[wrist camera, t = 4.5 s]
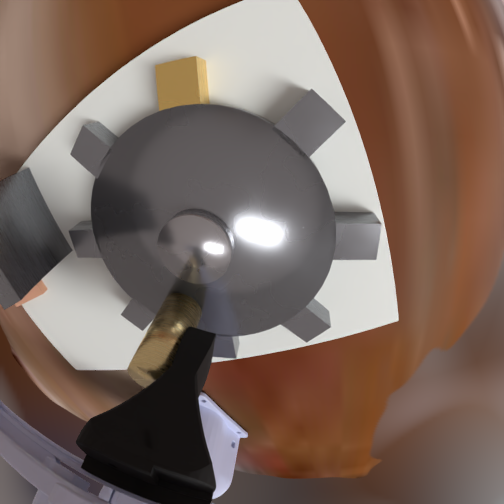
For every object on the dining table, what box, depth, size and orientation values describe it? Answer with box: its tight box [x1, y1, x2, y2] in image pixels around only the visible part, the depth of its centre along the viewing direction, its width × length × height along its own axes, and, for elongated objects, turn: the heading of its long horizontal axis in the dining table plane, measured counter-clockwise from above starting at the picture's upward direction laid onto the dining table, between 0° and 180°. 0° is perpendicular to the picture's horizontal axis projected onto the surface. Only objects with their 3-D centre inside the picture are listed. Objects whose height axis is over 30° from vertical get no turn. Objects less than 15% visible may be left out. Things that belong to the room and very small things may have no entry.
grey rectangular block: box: [0, 168, 73, 310], centre depth 11 cm, size 6×4×5 cm, turn 24°
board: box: [15, 0, 399, 370], centre depth 15 cm, size 17×29×2 cm, turn 114°
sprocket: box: [69, 56, 382, 388], centre depth 10 cm, size 14×14×6 cm
